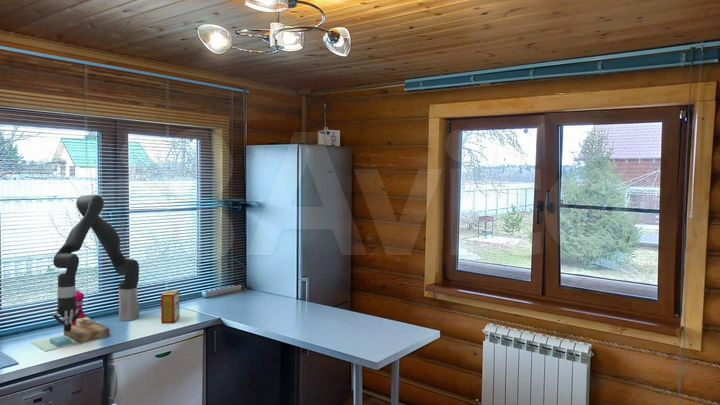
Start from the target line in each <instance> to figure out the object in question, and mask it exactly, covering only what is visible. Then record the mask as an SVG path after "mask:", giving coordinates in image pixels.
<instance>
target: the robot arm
mask: <svg viewBox="0 0 720 405" xmlns="http://www.w3.org/2000/svg"><path fill="white" fill-rule="evenodd" d="M104 203H105V202H104V199H103V197H102V196H101V195H99V194H88V195H82V196H79V197H78V198H77V199H76V203H75V205H76V208H77V210H78V212H79V213H80V215H81V216H82V218H81V220H79V222H78V223H77V224H75V226H73V228H72V229H71V230H70V232H69V233H68V236H67V238H66V239H65V241H64V244H63V245H62V246H61V247H60V249H59V250H58V251H57V252H56V254H55V255H54V257H53V260H52V263H53V266H54V267H55V268H56V269H57V268H58V269H66V270H65V272H63V273H59V274H58V275H57V291H56V292H57V308H56V312H54V313H52V314H51V317H52V318H53V319H54V320H55V321H56V322H58V324H60V325H63V332H64V331H65V332H70V330H71V324H72V322H75V321H76V320H77V318H78V317H79V315H80V314H81V313H82V310H83V309H82V310H80V309H78V308H77V306H76V289H77V288H76V275H77V272H78V268H79V265H80V259H79V256H78V255H77V254H76V253H75V252H78V251H80V250H81V249H82V246H83V243H84V242H85V239H86V237H87V234H88V233H89V230H90V229H91V230H92V231H93V232H94V234H95V236H96V238H97V239H98V241H99V243H100V245H101V246H102V247H103V249H104V251H105V252H106V254H107V256H108V258H109V260H110V262H111V264H112V266H113V268H114V271H115V272H116V274H118V275H120V276H124V280H123V281H122V282H119V283H118V308H119V309H118V318H119V319H118V320H119V321H121V322H128V321H133V320H136V319H139V318H140V300H138V284H139V281H140V264H139V262H138V261H137V260H136V259H133V258H127V257H125V255H124V254H123V253H122V250H121V238H120V236H119V234H118V232H117V231H116V229H115V228H114V227H113V226H112V224H110V223H108V222H107V221H105V219H103V218H102V217H100V214H101V212H102V210H103V209H104V205H105V204H104ZM74 313H75V314H74ZM73 314H74V316H73ZM60 317H61V318H62V319H61V318H60Z"/></svg>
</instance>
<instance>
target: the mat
mask: <svg viewBox="0 0 720 405" xmlns="http://www.w3.org/2000/svg"><path fill="white" fill-rule="evenodd" d="M63 335H64V334H62V335H57V336H53V337H48V338H43V339H38V340H34V341H31V344H33V345H35V346H36V347H38V348H39V349H40V350H42V351H44V352H50V351H53V350H57V349H62V348H66V347H70V346H74V345H79V344H80V343H78V342H76V341H75V340H73V339H71V338H70V339H71V341H72V344H68V345H64V346H60V347H56V346H55V345H53V344H51V343H50V338H54V337H59V336H63ZM64 336H65V335H64ZM66 337H67V336H66ZM68 338H69V337H68Z"/></svg>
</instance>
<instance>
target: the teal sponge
mask: <svg viewBox="0 0 720 405" xmlns="http://www.w3.org/2000/svg"><path fill="white" fill-rule="evenodd" d="M62 335H63V336H61V335H58V336H59V337H56V336H53V337H54V338H52V337H49V338H50V343H51V344H53V345H55V346H56V347H60V346H64V345H68V344H72V341H71V339H70V338H68V337H66V336H64V334H62Z"/></svg>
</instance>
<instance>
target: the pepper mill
mask: <svg viewBox="0 0 720 405" xmlns="http://www.w3.org/2000/svg"><path fill="white" fill-rule="evenodd" d="M84 299H85V295H84V293H83V292H81V291H80V289H79V288H76V306H77V308H78V309H80V310H82V313H81V314H80V315H79V317H78V318H77V319H79V318H84V317H87V316H86V314H85V312H84V310H83V304H84V301H83V300H84ZM74 314H75V313H74ZM74 314H73V316H74ZM73 325H76V321H75V322H72V323H71V326H73Z"/></svg>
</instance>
